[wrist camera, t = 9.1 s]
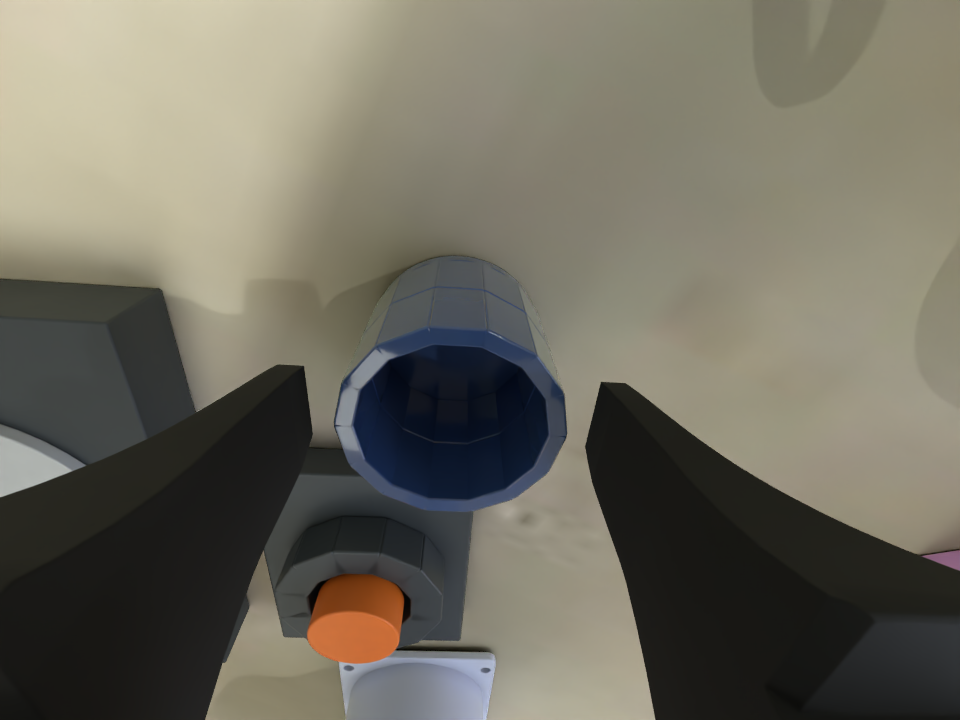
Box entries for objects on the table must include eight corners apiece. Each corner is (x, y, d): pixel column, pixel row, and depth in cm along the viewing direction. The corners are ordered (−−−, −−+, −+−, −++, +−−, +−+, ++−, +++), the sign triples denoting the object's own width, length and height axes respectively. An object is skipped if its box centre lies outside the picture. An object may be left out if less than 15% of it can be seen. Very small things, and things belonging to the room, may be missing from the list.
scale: (250, 607, 22) (221, 673, 19) (-19, 600, 21) (-85, 669, 19) (162, 288, 14) (94, 329, 11) (-270, 261, 13) (-443, 298, 11)
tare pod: (461, 612, 22) (459, 679, 20) (293, 608, 22) (269, 677, 19) (475, 454, 17) (477, 516, 15) (260, 444, 17) (222, 507, 14)
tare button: (404, 623, 18) (399, 665, 17) (322, 622, 18) (311, 664, 17) (404, 571, 17) (398, 613, 15) (314, 569, 17) (301, 611, 15)
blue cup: (528, 405, 16) (550, 515, 12) (375, 398, 16) (341, 508, 12) (551, 261, 14) (588, 335, 10) (369, 248, 14) (322, 319, 9)
